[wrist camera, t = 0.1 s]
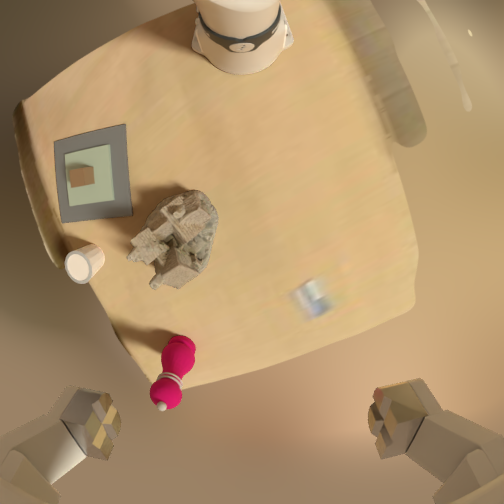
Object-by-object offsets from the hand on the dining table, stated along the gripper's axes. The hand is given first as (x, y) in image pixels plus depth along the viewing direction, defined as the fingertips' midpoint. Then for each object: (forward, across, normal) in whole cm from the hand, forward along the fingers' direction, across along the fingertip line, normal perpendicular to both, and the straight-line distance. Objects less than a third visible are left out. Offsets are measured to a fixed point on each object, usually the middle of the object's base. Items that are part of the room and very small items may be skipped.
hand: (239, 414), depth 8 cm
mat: (+48, +32, -8) cm, 58 cm away
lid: (+48, +32, -8) cm, 58 cm away
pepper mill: (+48, +17, +31) cm, 60 cm away
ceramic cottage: (+48, +13, +6) cm, 50 cm away
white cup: (+48, +34, +9) cm, 60 cm away
